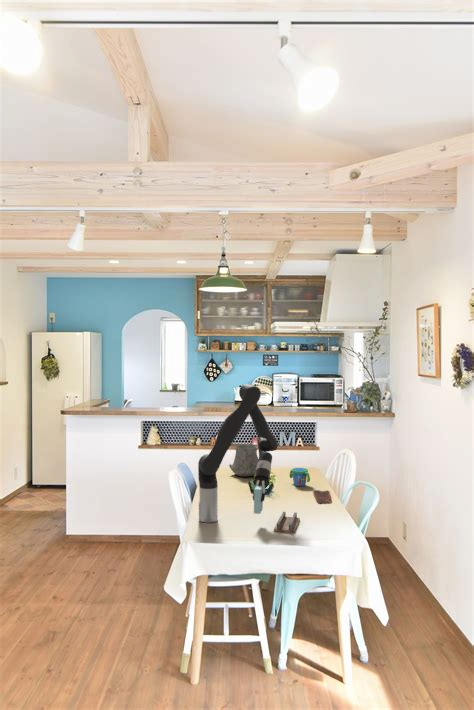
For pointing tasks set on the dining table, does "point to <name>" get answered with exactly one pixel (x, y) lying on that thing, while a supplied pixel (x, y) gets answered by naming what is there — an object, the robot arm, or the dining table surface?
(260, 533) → the dining table surface
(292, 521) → the track board
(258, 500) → the door panel
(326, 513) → the dining table surface
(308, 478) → the snack cup
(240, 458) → the vessel
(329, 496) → the wooden tablet
